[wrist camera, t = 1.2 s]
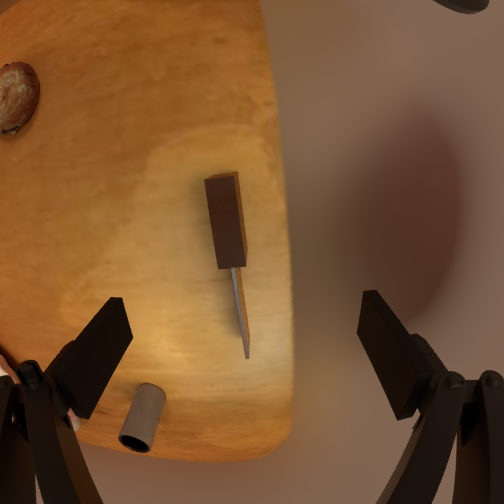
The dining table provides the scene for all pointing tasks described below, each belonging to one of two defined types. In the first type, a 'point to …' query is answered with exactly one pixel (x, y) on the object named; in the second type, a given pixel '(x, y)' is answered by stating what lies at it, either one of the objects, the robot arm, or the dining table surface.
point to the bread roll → (17, 95)
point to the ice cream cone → (74, 420)
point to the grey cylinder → (142, 418)
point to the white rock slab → (7, 370)
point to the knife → (229, 237)
